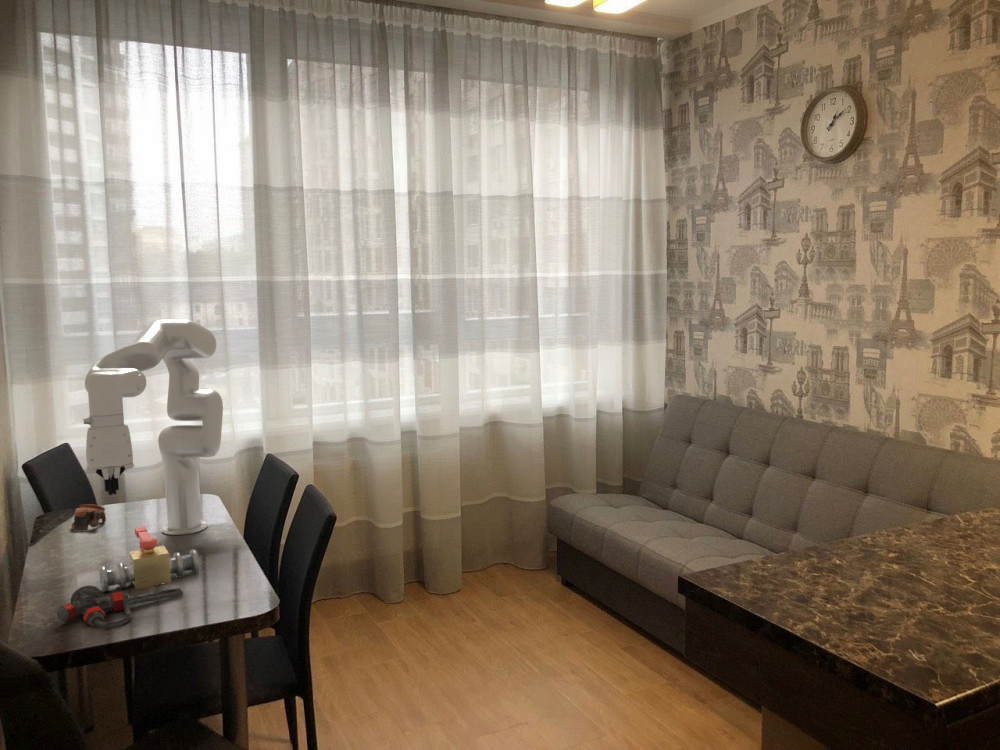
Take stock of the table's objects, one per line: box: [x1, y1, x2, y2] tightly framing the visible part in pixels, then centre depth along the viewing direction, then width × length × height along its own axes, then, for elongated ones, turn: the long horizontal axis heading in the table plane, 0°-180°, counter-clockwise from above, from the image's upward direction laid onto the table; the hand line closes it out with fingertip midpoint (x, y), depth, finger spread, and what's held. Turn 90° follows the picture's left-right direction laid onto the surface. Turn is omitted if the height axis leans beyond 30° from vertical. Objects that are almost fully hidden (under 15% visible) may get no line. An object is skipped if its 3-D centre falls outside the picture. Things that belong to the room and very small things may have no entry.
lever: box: [134, 525, 158, 550], centre depth 200 cm, size 16×4×2 cm, turn 33°
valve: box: [56, 584, 184, 628], centre depth 177 cm, size 6×26×15 cm
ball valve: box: [98, 545, 201, 593], centre depth 196 cm, size 7×22×9 cm, turn 123°
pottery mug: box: [71, 503, 107, 531], centre depth 243 cm, size 12×10×8 cm
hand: (112, 493), depth 199 cm, fingers closed
